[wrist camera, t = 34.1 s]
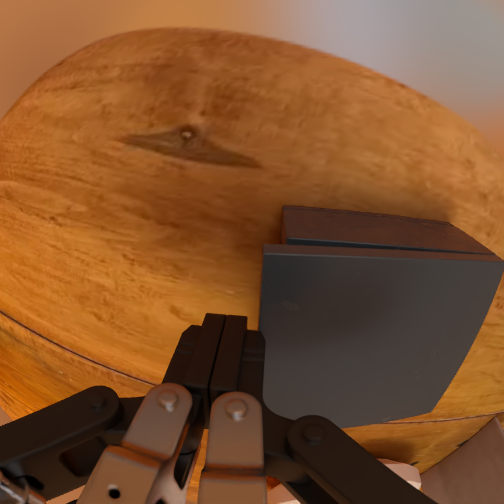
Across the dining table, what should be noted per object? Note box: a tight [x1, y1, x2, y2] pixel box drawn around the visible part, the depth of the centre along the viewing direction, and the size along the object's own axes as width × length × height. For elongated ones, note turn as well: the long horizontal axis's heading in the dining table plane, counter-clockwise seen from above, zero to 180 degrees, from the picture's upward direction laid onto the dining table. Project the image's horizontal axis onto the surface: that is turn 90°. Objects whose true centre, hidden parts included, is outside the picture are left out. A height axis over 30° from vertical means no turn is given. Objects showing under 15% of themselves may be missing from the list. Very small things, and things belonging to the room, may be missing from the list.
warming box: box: [280, 205, 496, 255], centre depth 14 cm, size 10×10×5 cm
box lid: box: [257, 244, 504, 428], centre depth 11 cm, size 11×10×1 cm
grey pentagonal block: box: [420, 417, 504, 504], centre depth 17 cm, size 16×8×19 cm, turn 157°
